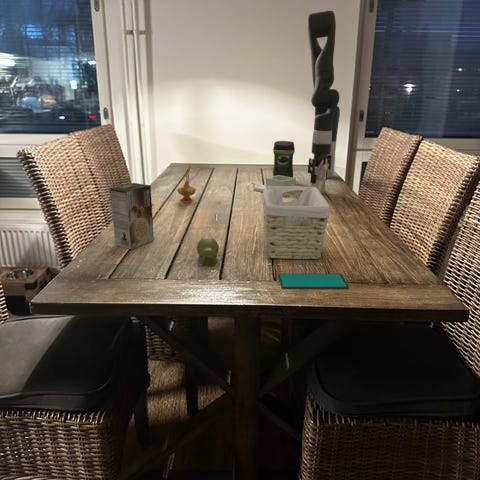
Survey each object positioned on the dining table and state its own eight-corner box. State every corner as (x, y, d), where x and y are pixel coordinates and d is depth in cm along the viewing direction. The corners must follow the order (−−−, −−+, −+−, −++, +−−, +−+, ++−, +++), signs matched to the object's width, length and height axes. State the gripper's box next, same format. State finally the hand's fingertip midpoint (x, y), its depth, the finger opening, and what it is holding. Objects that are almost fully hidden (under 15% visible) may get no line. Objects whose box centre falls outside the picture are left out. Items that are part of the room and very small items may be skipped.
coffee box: (138, 236, 128) (134, 182, 123) (154, 240, 125) (151, 185, 120) (114, 245, 121) (109, 188, 116) (131, 250, 118) (126, 191, 112)
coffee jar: (293, 181, 204) (295, 140, 198) (292, 184, 197) (295, 142, 190) (272, 180, 205) (274, 139, 199) (271, 183, 198) (272, 141, 192)
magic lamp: (173, 207, 158) (172, 177, 154) (180, 195, 175) (179, 167, 171) (192, 207, 158) (192, 177, 154) (197, 195, 175) (197, 168, 171)
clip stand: (276, 184, 197) (276, 172, 195) (306, 190, 187) (307, 178, 185) (253, 190, 185) (254, 178, 184) (285, 196, 176) (285, 184, 174)
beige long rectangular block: (316, 191, 185) (318, 159, 181) (324, 193, 183) (327, 160, 178) (311, 193, 183) (313, 160, 178) (319, 194, 180) (322, 161, 176)
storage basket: (260, 231, 135) (262, 184, 130) (313, 232, 135) (317, 185, 130) (263, 261, 112) (265, 205, 107) (326, 263, 112) (332, 207, 107)
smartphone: (349, 287, 98) (282, 287, 97) (348, 290, 98) (281, 290, 98) (341, 273, 105) (278, 273, 104) (340, 276, 105) (278, 276, 105)
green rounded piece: (218, 233, 115) (220, 253, 106) (217, 250, 118) (219, 271, 109) (196, 233, 115) (197, 253, 106) (196, 250, 117) (197, 271, 109)
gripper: (322, 139, 183) (319, 178, 189) (304, 142, 173) (301, 183, 178) (338, 141, 179) (335, 180, 184) (320, 144, 168) (317, 186, 174)
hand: (318, 181), depth 181 cm, fingers open, 8 cm apart
